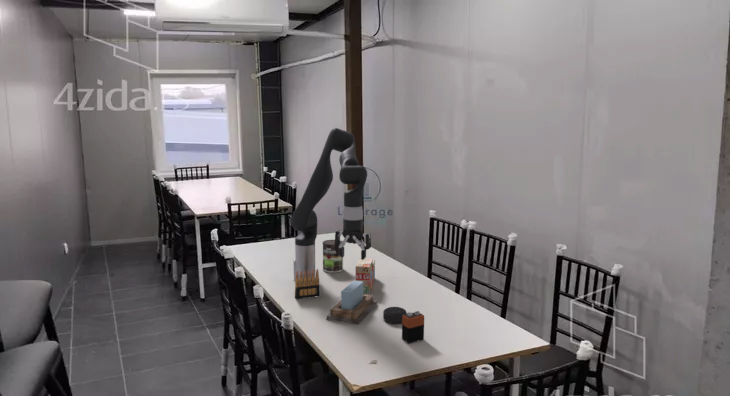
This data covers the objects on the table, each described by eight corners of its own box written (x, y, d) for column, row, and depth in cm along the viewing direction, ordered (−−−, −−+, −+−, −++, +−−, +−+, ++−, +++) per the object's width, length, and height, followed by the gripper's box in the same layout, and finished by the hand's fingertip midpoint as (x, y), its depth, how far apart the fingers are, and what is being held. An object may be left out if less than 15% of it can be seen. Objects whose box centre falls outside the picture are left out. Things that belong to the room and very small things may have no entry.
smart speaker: (399, 326, 204) (399, 316, 203) (378, 321, 209) (379, 311, 208) (410, 319, 211) (410, 309, 211) (390, 314, 216) (390, 304, 215)
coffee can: (338, 273, 266) (338, 245, 264) (319, 271, 270) (318, 243, 268) (346, 268, 276) (346, 240, 273) (328, 265, 280) (328, 238, 277)
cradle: (326, 319, 210) (326, 309, 209) (347, 300, 230) (347, 291, 230) (358, 324, 205) (358, 314, 205) (376, 304, 226) (377, 295, 225)
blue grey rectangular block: (341, 313, 212) (341, 291, 210) (353, 301, 225) (354, 280, 223) (350, 315, 210) (351, 292, 209) (363, 302, 223) (363, 281, 222)
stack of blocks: (361, 277, 261) (362, 252, 259) (375, 278, 260) (375, 253, 258) (355, 292, 240) (355, 265, 238) (369, 293, 239) (369, 266, 237)
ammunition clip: (295, 299, 231) (295, 271, 229) (294, 297, 233) (294, 270, 231) (320, 296, 235) (320, 269, 233) (318, 294, 237) (318, 268, 235)
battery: (401, 339, 193) (401, 312, 191) (416, 335, 196) (417, 308, 194) (408, 344, 189) (409, 316, 187) (424, 339, 192) (425, 312, 191)
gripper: (332, 217, 210) (332, 258, 213) (367, 220, 206) (366, 262, 208) (339, 214, 217) (339, 253, 220) (373, 217, 213) (373, 257, 215)
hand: (352, 258), depth 214 cm, fingers open, 8 cm apart
